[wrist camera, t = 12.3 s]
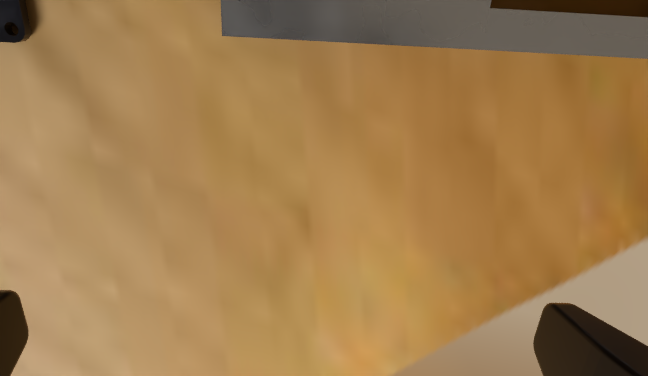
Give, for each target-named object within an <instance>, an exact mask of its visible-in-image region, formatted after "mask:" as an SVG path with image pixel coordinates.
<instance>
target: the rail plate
mask: <svg viewBox="0 0 648 376" xmlns="http://www.w3.org/2000/svg"><path fill="white" fill-rule="evenodd" d="M490 5H491V0H221V17H222V36H235V37H253V38H272V39H291V40H309V41H328V42H347V43H365V44H384V45H402V46H421V47H440V48H458V49H477V50H496V51H514V52H533V53H552V54H570V55H589V56H608V57H626V58H645V59H648V17H636V16H619V15H602V14H585V13H568V12H551V11H534V10H517V9H500V8H490Z"/></svg>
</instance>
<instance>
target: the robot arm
mask: <svg viewBox="0 0 648 376" xmlns="http://www.w3.org/2000/svg"><path fill="white" fill-rule="evenodd" d="M12 23H14V24H15V25H16V26H17V28H18V34H15V33H14V32H13V31H12V29H11V24H12ZM30 35H31V28H30V23H29V18H28V13H27V8H26V3H25V0H0V42H13V43H15V42H21V41H26V40H27V39H28V38H29V37H30ZM27 340H28V326H27V322H26V319H25V315H24V311H23V308H22V304H21V300H20V297H19V295H18V294H17V293H16V292H14V291H11V290H0V376H10V375H11V373H12V371H13V369H14V367H15V365H16V363H17V361H18V359H19V357H20V355H21V353H22V351H23V349H24V347H25V345H26V343H27ZM533 344H534V351H535V354H536V357H537V360H538V363H539V365H540V368H541V371H542V373H543V376H648V346H646V345H644V344H643V343H641V342H639V341H638V340H636V339H634V338H632V337H630V336H628V335H627V334H625V333H623V332H622V331H620V330H618V329H616V328H614V327H613V326H611V325H609V324H607V323H606V322H604V321H602V320H600V319H598V318H597V317H595V316H593V315H591V314H590V313H588V312H586V311H584V310H582V309H581V308H579V307H577V306H575V305H573V304H570V303H549V304H547V305H546V306H545V307H544V309H543V311H542V315H541V318H540V321H539V324H538V327H537V330H536V334H535V337H534V343H533Z"/></svg>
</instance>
